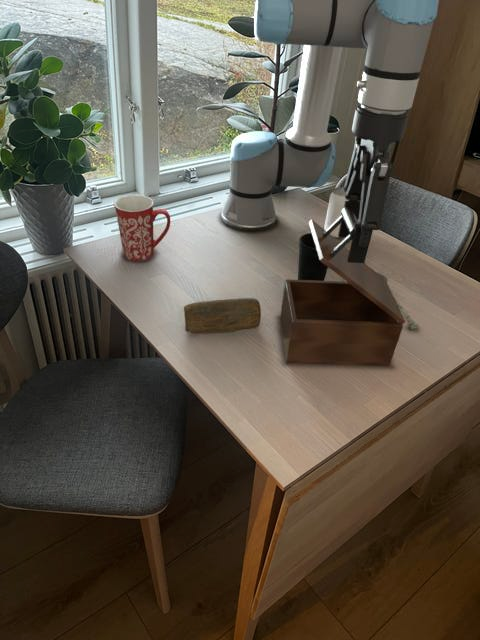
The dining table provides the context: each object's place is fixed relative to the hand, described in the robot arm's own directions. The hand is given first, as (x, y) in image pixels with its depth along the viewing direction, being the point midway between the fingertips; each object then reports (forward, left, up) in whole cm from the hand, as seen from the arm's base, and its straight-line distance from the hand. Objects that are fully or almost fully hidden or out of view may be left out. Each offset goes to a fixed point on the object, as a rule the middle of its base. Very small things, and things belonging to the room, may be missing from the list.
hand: (350, 248), depth 82 cm
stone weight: (-3, -22, -21) cm, 30 cm away
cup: (-19, -2, -21) cm, 28 cm away
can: (-47, +9, -21) cm, 52 cm away
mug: (-31, -41, -21) cm, 55 cm away
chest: (0, 0, -21) cm, 21 cm away
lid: (0, +2, -5) cm, 5 cm away
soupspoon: (-15, +15, -21) cm, 30 cm away
